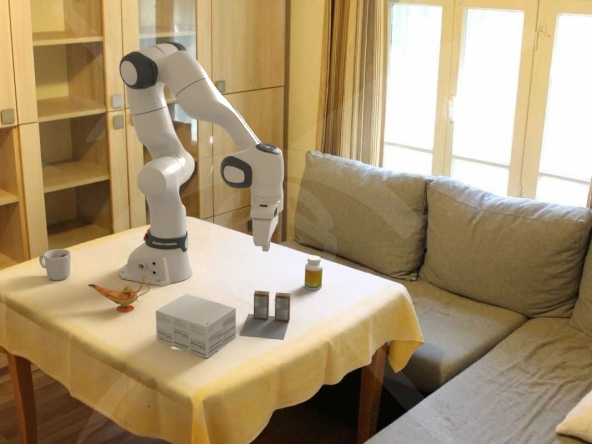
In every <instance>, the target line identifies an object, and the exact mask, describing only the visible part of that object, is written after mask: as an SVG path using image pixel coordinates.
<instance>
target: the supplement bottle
mask: <svg viewBox="0 0 592 444" xmlns="http://www.w3.org/2000/svg"><path fill="white" fill-rule="evenodd" d="M321 259H322V258H321V257H320V256H318V255H309V256H308V257H307V263H305V265H304V287H305V288H306V289H308V290H312V291H315V290H317V291H318V290H320V289H321V288H322V286H323V285H322V284H323V269H324V268H323V264H322V263H321V261H322V260H321Z"/></svg>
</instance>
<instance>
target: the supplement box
mask: <svg viewBox="0 0 592 444" xmlns="http://www.w3.org/2000/svg"><path fill="white" fill-rule="evenodd" d="M236 314H237V308H236V307H232V306H230V305H226V304H223V303H219V302H217V301H213V300H209V299H206V298H202V297H199V296H196V295H192V294H189V293H185V294H183V295H181V296H180V297H178V298H175V299H174V300H172V301H170V302H169V303H167V304H165V305H163V306H162V307H160V308H158V309H157V310H155V326H156V327H155V329H156V331H155V332H156V341H157V342H158V343H162V344H165V345H167V346H170V347H173V348H176V349H178V350H182V351H184V352H187V353H190V354H193V355H196V356H198V357H201V358H205V359H208V358H210V357H212V356H213V355H214V354H217V352H219V350H220V349H222V348H224V347H225V346H227V344H229V343H231V342H233V340H235V339H236V338H237V320H236V319H237V315H236Z"/></svg>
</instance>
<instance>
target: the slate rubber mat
mask: <svg viewBox="0 0 592 444" xmlns="http://www.w3.org/2000/svg"><path fill="white" fill-rule="evenodd" d="M289 323H290V321H289V322H278V321H275V315H269V318H268V321H267V320H256V319H254V313H248V315H247V317H246V319H245V321H244V323H243V327H242V329H241V331H240V333H239V336H240V337H251V338H260V339H271V340H280V341H284V338H285V336H286V333H287V329H288V326H289Z"/></svg>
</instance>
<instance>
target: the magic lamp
mask: <svg viewBox="0 0 592 444" xmlns="http://www.w3.org/2000/svg"><path fill="white" fill-rule="evenodd" d="M141 278H142V276H141ZM144 278H146V275H145V276H144V277H143V278H142V281H144ZM146 280H147V278H146ZM144 283H145V285H146V286H147V287H148V290H147V291H145V292H143V293H141V294H139V295H138V293H139V292H140V291H141V289H142V287H143V285H144ZM144 283H143V282H140V286H139V288H138V289H137V290H134V289H132V287H130V286H129V284H128V285H127V284H126V286H125V288H124V289H121V290H111V289H106V288H104V287H102V286H99V285H96V284H93V283H90V284H88V285H87V286H88V287H89V288H92V289H94V290H95V291H96V292H98V293H99V294H100V295H102V296H103V297H105V298H106V299H108V300H110V301H112V302H113V303H115V304H118V306H117V307H116V308H115V309H116V312H119V313H124V314H125V313H131V312H133V311H134V310H135V306H134V305H133V304H134V303H135V302H136V301H137V303H142V301H143V300H142V299H141V298H140V299H141V301H138V298H139V297H141V296H143V295H145V294H147V293H148V292H149V291H150V290H151V288H150V286H149V284H148V283H146V282H145V281H144Z"/></svg>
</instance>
